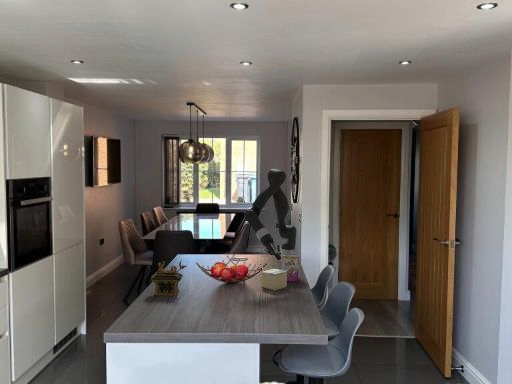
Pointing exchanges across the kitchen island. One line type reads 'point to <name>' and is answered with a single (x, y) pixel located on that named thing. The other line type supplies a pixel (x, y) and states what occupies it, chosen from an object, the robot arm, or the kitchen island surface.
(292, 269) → the candy bar box
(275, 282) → the carton
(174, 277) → the decorative box
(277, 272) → the lid flap
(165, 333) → the kitchen island surface
